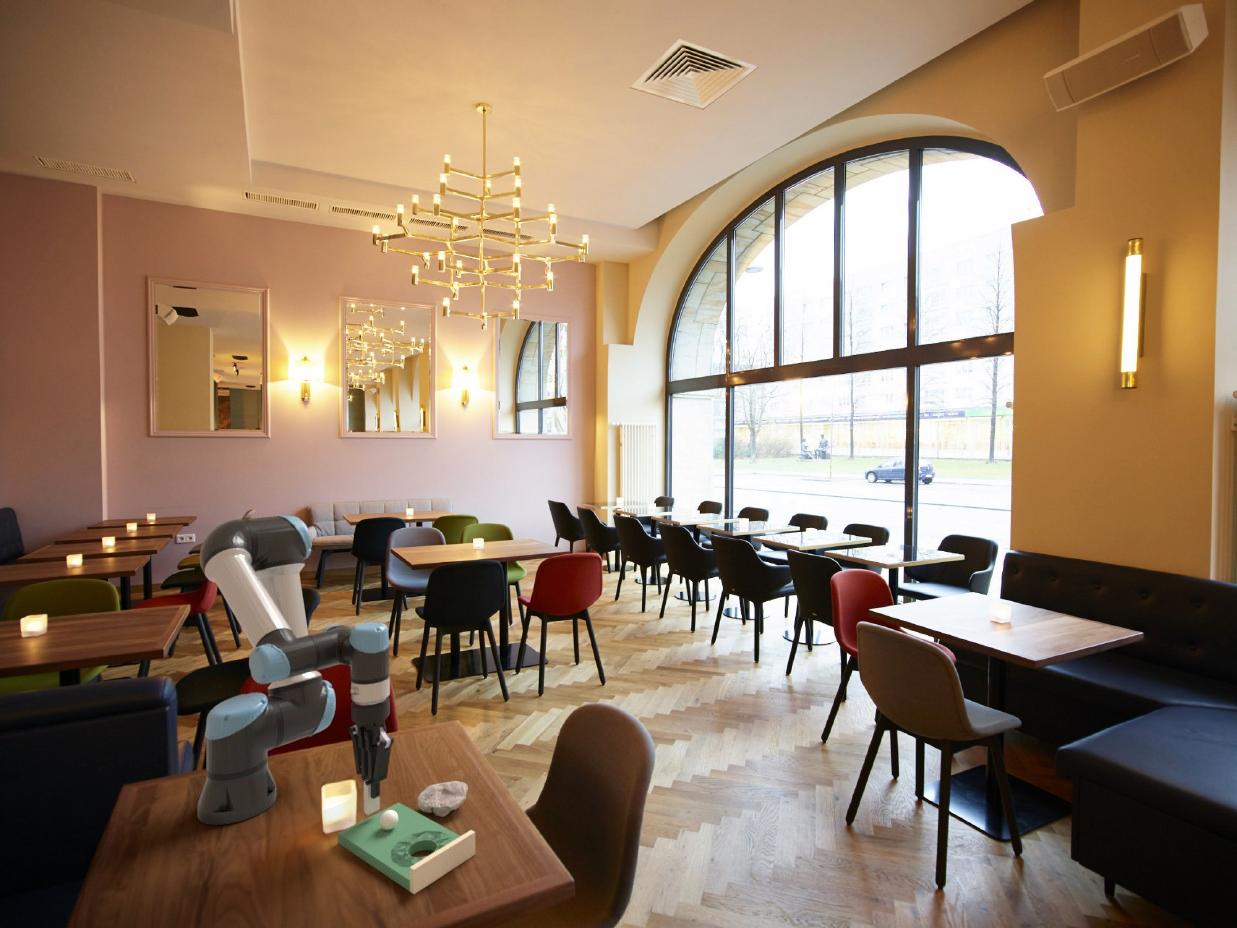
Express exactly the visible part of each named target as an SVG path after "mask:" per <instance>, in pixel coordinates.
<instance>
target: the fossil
mask: <svg viewBox="0 0 1237 928" xmlns="http://www.w3.org/2000/svg"><path fill="white" fill-rule="evenodd" d="M468 790H469V787H468V785H467V784H466V783H465V782H462V781H458V780H453V781H446V782H441V783H434V784H430V785H428V786H427V787H426V788H424V789H423V791H422V792H420V793H419V794H418V796H417V799H416V800H417V806H418V809H420V810H421V811H422V812H423V813H433V814H434V815H435V816H437V817H441V818H442V817H446V816H447V815H449V814H450V813H451V811H454V810H457V809H458V808H459V807H460V806H462V804H463V803H464V802H465V801H466V800H467V794H468Z"/></svg>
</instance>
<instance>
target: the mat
mask: <svg viewBox="0 0 1237 928" xmlns="http://www.w3.org/2000/svg"><path fill="white" fill-rule="evenodd" d="M387 810H394V811H395V812H396V813H397V814H398V823H397V825H396V826H395V827H394V828H393V829H391V830H384V829H383V828H382V827H381V826H380V817H381V815H382V814H383V813H384V812H385V811H387ZM337 843H338V844H339V845H340V846H342V847H343V848H345V849H347V851H349V852H350V853H352V854H353V855H355V856H356V857H358V858H359V859H361V860H362V861H364V862H365V863H367V864H369V866H371V867H373V868H374V869H376V870H377V871H379V872H381V873H382V874H383V875H385V876H386V877H387V878H389V879H391V880H392V881H393V882H396V883H397V884H398V885H399V886H401V887H402V888H404V889H405V890H407V891H408V892H410V893H411V894H412V895H416V893H419V892H420V891H421V890H423V889H424V888H426V887H428V886H429V885H431V884H432V883H434V882H435V881H437V880H439V879H440V878H441V877H443V876H445V875H446V874H447V873H449V872H451V871H452V870H454V869H455V868H457V867H459V866H460V865H461V864H463V863H465V862H466V861H468V860H469V859H471V858H472V857H474V856H475V855H476V831H474V830H473V829H470V830H468V831H467V832H465V833H464V834H462V835H460V834H457V833H456V832H454V831H452V830H450V829H448V828H446V826H445V827H444V826H443V825H441V824H440V823H437V822H436V821H434V820H432V819H430V818H428V817H426V816H425V815H422V814H421V813H419V812H417V811H415V810H414V809H412V808H410V807H408V806H406V805H404V804H402V803H401V802H397V803H395V804H393V805H391V806H389V807H387V808H385V809H383V810H381V811H379V812H377V813H376V814H373V815H371V816H369V817H367V818H365V819H363V820H361V821H359V822H357V823H356V824H354V825H351V826H350V827H347V828H346V829H344V830H342V831H339V832H338V833H337ZM422 851H432V852H431V853H430V854H428V855H426V856H422V857H421V856H420V857H417V856H415V857H414V856H412V855H414V854H416V853H418V852H422Z"/></svg>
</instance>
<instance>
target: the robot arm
mask: <svg viewBox="0 0 1237 928" xmlns="http://www.w3.org/2000/svg"><path fill="white" fill-rule="evenodd" d="M312 543H313V542H312V536H311V533H310V531H309V528H308V526H307V525H306V523H305V522H304V521H303V520H301V519H300V518H299V517H297V516H295V515H287V516H286V515H274V516H265V517H254V518H243V519H242V518H239V519H232V520H231V519H230V520H228V521H226V522H223V523H220V524H219V525H217V526H216V527H215V528H213V529H212V530H211V531H210V532H209V533H208V534H207V536H206V537H205V538H204V540H203V542H202V544H201V547H200V551H199V552H200V553H199V563H200V568H201V570H202V572H203V574H204V575H205V577H206V579H208V581H210V582H212V583H215V584H216V586H217V587H218V589H219V591H220V593H221V594H222V596H223V598H224V599H225V601H226V603H227V604H228V606H229V608H230V610H231V611H232V613H233V615H234V617H235V618H236V621H237V622H238V623H239V625H240V627H241V629H242V630H243V632H244V634H245V636H246V637H247V639H248V641H249V643H250V645H251V647H253V649H252V650H251V652H250V654H249V660H248V666H249V670H250V674H251V677H252V679H253V680H254V681H255V683H257V684H260V685H266V684H270V685H269V686H268V687H267V691H268V696H267V695H266V694H264V693H262V692H250V693H244V694H243V693H242V694H238V695H236V696H235V695H234V696H233V697H230V698H227V699H226V700H224V701H221V702H219V703H218V704H217V705H215V706H214V707H213V708H212V709H211V710H210V711H209V713H208V714H207V717H206V729H205V732H204V736H205V744H206V748H205V749H206V753H205V754H206V778H205V783H204V785H203V788H202V792H201V794H200V797H199V800H198V802H197V808H196V809H197V813H196V814H197V819H198V820H199V822H200V823H202V824H205V825H211V826H218V825H219V826H221V825H230V824H235V823H238V822H239V823H240V822H242V821H246V820H249V819H251V818H253V817H256V816H258V815H259V814H262V813H263V812H265V811H266V810H268V809H269V808H270V807H272V805H274V803H275V802H276V800H277V785H276V782H275V780H274V777H273V775H272V772H271V770H270V768H269V765H268V751H271V750H273V749H276V748H278V747H281V746H284V745H287V744H290V743H293V742H296V741H298V740H300V739H301V740H302V739H304V738H309V737H310V738H311V737H312V736H314V735H315V734H317V733H320V732H322V731H323V730H326V729H327V728H329V726H330V725H331V723H332V721H333V718H334V716H335V713H336V712H335V711H336V693H335V690H334V688H333V685H332V683H330V682H329V681H328V680H324V679H322V678H323V676H322V673H320V671H319V670H323V669H327V668H331V667H333V666H337V665H344V666H348V667H350V681H351V682H350V683H351V685H350V688H351V689H350V690H349V691H350V695H351V697H350V699H351V701H352V702H351V705H350V709H351V710H350V714H351V715H350V716H351V720H352V722H353V723H354V724H355V725H352V726H349V728H348V731H349V734H350V736H351V743H352V748H353V757H354V763H355V771H356V774H357V775H360V777H361V778H360V779H361V781H363V782H362V783H363V814H366V815H367V816H369V815H371V814H374V813H375V812H377V811H380V810H381V800H380V799H381V797H380V796H381V782H382V781H385V780H386V779H387V778H388V772H389V766H390V765H389V764H390V757H391V751H392V746H393V744H394V741H395V739H394V736H388V735H387V733H386V732H387V727H386V723H385V721H386V719H387V718H388V717H389V715H390V713H391V710H390V709H391V705H390V702H391V699H390V697H389V696H390V694H391V693H390V692H391V688H390V687H391V686H390V685H391V683H390V682H391V681H390V643H391V641H390V637H389V627H388V626H387V625H386V624H385V623H384V622H375V621H372V622H371V621H368V622H362V623H358V624H356V625H354V626H353V627H352V626H349V625H346V624H331V625H329V626H326V627H325V628H324V629H323V630H321V631H320V632H316V633H313V634H312V633H311V634H309V631H308V625H307V618H306V611H305V609H306V608H305V603H304V597H303V590H302V583H301V576H300V572H301V571H302V570H303V568H304V567H306V566H305V565H306V564H305V563H306V562H305V560H306V559H308V558H309V557H310V555H311V553H312V549H311V548H312V546H313V544H312Z"/></svg>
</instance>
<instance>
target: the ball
mask: <svg viewBox="0 0 1237 928" xmlns="http://www.w3.org/2000/svg"><path fill="white" fill-rule="evenodd" d="M397 823H398V814H397V813H396V812H395V811H394V810H387V811H385V812H384V813H383V814H382V815H381V817H380V826H381V827H382V828H383V829H384V830H391V829H393V828H394V827H395V826H396V825H397Z"/></svg>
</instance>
